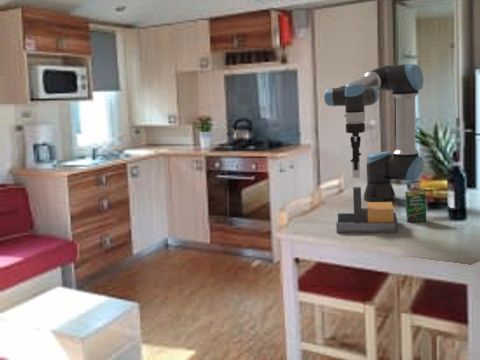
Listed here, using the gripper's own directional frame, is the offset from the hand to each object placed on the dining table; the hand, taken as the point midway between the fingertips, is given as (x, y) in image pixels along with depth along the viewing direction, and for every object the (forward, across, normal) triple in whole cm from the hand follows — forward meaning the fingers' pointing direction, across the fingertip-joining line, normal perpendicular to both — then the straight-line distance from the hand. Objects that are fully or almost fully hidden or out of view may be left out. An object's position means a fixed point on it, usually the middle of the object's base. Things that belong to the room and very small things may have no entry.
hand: (356, 174), depth 230 cm
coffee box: (+22, -9, +24) cm, 34 cm away
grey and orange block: (+21, 0, +6) cm, 22 cm away
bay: (+22, 0, +4) cm, 23 cm away
